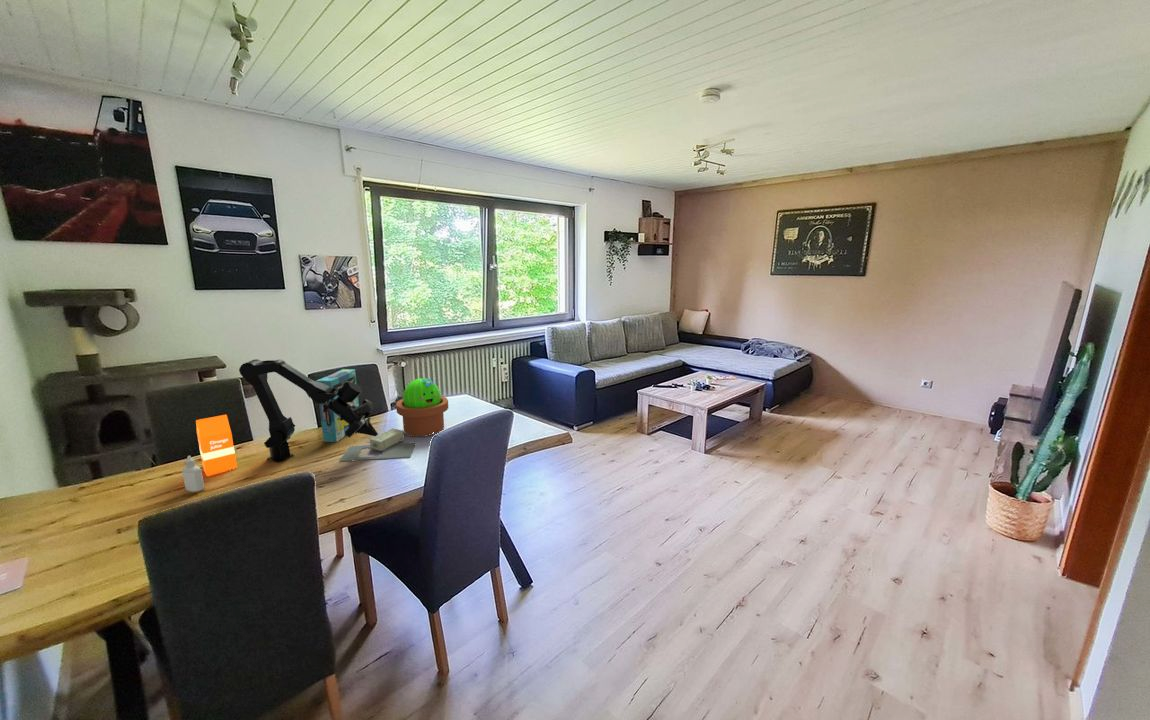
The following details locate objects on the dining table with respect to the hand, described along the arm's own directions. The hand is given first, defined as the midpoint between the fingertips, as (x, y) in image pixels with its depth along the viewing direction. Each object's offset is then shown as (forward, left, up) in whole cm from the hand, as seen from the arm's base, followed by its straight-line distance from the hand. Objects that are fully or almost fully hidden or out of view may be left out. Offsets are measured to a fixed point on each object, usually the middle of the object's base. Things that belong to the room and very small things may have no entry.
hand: (376, 435), depth 173 cm
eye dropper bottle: (-35, -44, -8) cm, 57 cm away
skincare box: (-2, +1, -5) cm, 5 cm away
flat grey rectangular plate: (0, 0, -7) cm, 7 cm away
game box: (-29, +11, -8) cm, 32 cm away
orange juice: (-43, -31, -8) cm, 54 cm away
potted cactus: (+2, +27, -8) cm, 28 cm away
